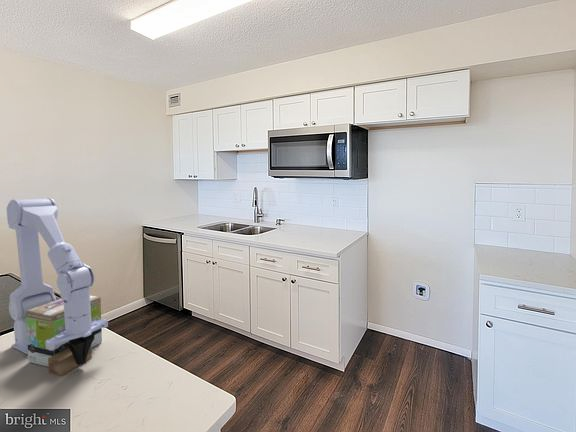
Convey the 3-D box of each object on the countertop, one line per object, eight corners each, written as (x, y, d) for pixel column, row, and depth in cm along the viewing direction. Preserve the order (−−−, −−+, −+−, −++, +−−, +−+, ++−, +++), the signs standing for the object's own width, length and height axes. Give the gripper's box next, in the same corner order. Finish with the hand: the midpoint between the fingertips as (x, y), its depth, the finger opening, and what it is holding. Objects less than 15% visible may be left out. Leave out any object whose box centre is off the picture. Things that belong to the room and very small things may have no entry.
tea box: (55, 369, 84) (52, 315, 82) (27, 363, 87) (23, 310, 85) (103, 342, 98) (101, 295, 97) (78, 337, 101) (75, 291, 99)
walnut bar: (49, 372, 82) (47, 358, 82) (81, 354, 91) (80, 341, 91) (60, 376, 81) (59, 361, 81) (91, 357, 90) (91, 344, 89)
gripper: (55, 328, 75) (59, 383, 76) (114, 306, 88) (116, 354, 89) (39, 321, 78) (43, 374, 79) (98, 302, 91) (100, 347, 92)
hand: (80, 363), depth 85 cm, fingers closed
